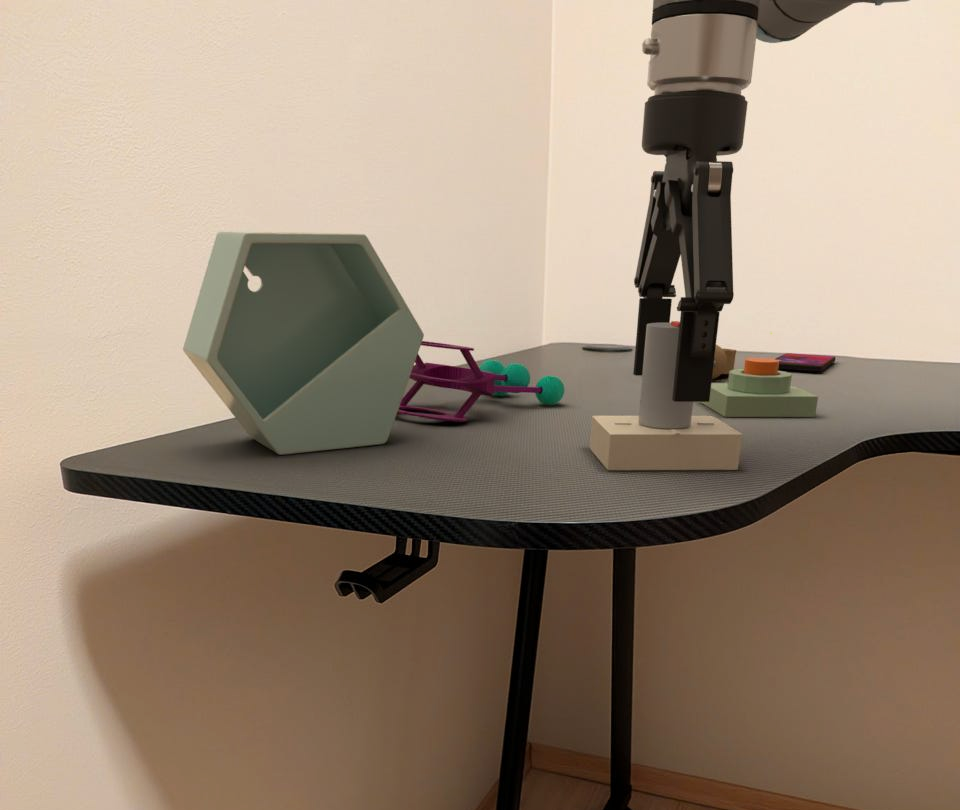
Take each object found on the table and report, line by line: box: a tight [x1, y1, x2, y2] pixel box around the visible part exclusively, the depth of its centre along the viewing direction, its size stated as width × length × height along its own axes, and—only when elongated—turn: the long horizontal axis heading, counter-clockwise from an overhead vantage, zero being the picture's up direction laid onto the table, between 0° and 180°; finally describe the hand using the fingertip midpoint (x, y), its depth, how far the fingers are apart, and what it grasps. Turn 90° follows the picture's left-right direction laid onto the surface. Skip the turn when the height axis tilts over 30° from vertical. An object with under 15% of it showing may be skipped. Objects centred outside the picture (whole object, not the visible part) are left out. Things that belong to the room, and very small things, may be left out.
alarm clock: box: [712, 344, 738, 380], centre depth 124 cm, size 11×5×15 cm
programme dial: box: [638, 320, 694, 429], centre depth 76 cm, size 4×4×8 cm
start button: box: [743, 357, 779, 376], centre depth 100 cm, size 4×4×2 cm
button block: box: [700, 368, 819, 418], centre depth 101 cm, size 10×9×4 cm
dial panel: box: [589, 415, 743, 471], centre depth 78 cm, size 11×9×3 cm
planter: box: [182, 231, 425, 456], centre depth 79 cm, size 17×8×21 cm
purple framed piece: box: [397, 340, 565, 423], centre depth 98 cm, size 12×20×7 cm, turn 134°
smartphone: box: [775, 352, 837, 372], centre depth 136 cm, size 8×1×15 cm
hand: (668, 387), depth 76 cm, fingers open, 13 cm apart
